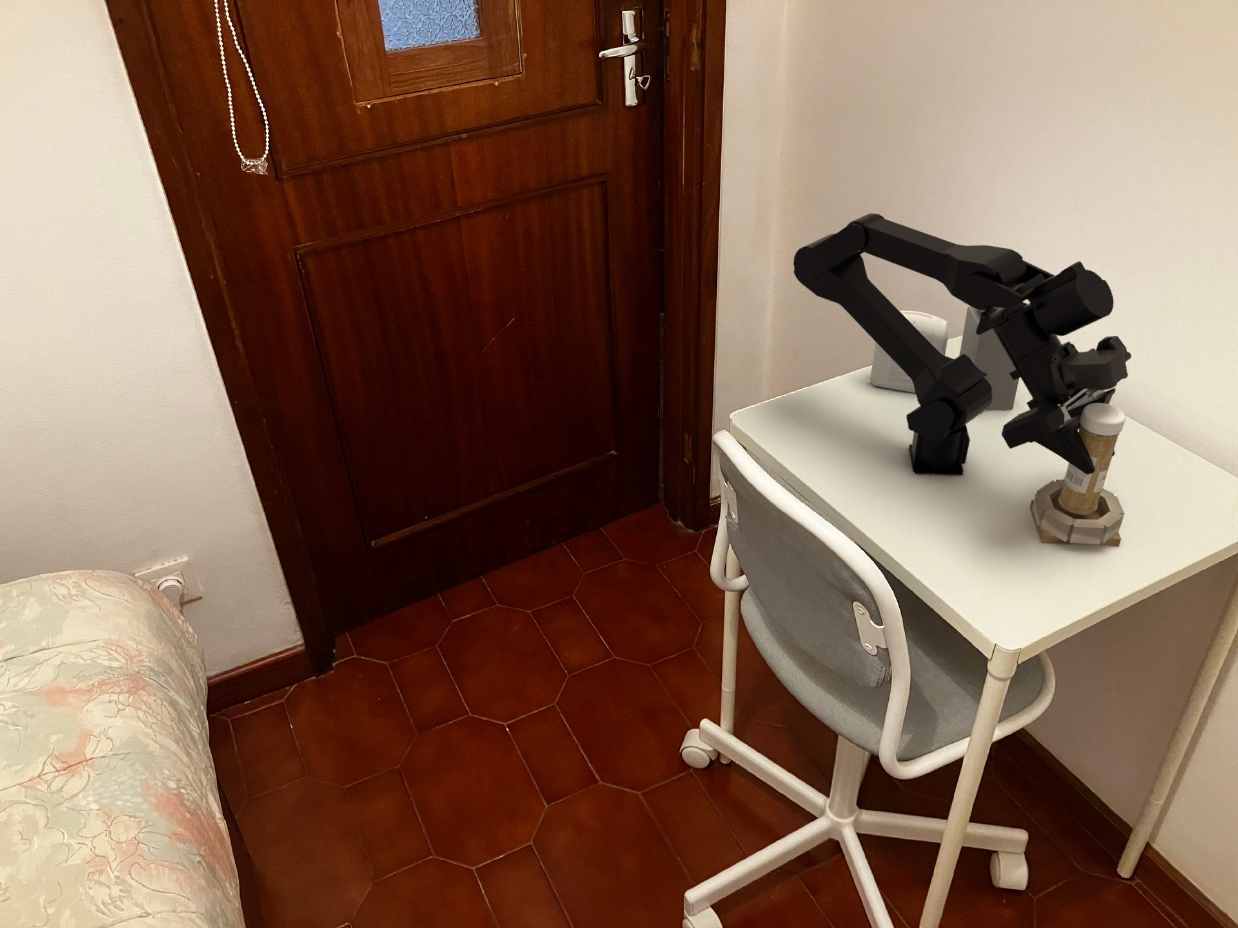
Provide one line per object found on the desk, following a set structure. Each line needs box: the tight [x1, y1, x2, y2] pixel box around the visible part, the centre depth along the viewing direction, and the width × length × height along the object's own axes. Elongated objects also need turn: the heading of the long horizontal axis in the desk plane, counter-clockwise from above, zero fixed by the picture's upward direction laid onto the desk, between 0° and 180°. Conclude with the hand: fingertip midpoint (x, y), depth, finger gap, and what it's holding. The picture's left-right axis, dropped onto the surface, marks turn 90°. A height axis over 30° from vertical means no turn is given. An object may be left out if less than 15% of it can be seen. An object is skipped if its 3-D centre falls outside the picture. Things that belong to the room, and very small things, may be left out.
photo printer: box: [870, 310, 949, 394], centre depth 151 cm, size 10×4×12 cm, turn 69°
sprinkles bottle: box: [1058, 403, 1126, 515], centre depth 120 cm, size 5×5×14 cm
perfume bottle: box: [958, 306, 1020, 412], centre depth 146 cm, size 7×7×18 cm
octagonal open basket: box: [1029, 479, 1125, 547], centre depth 125 cm, size 10×10×4 cm
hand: (1101, 464), depth 120 cm, fingers closed on sprinkles bottle, 4 cm apart
